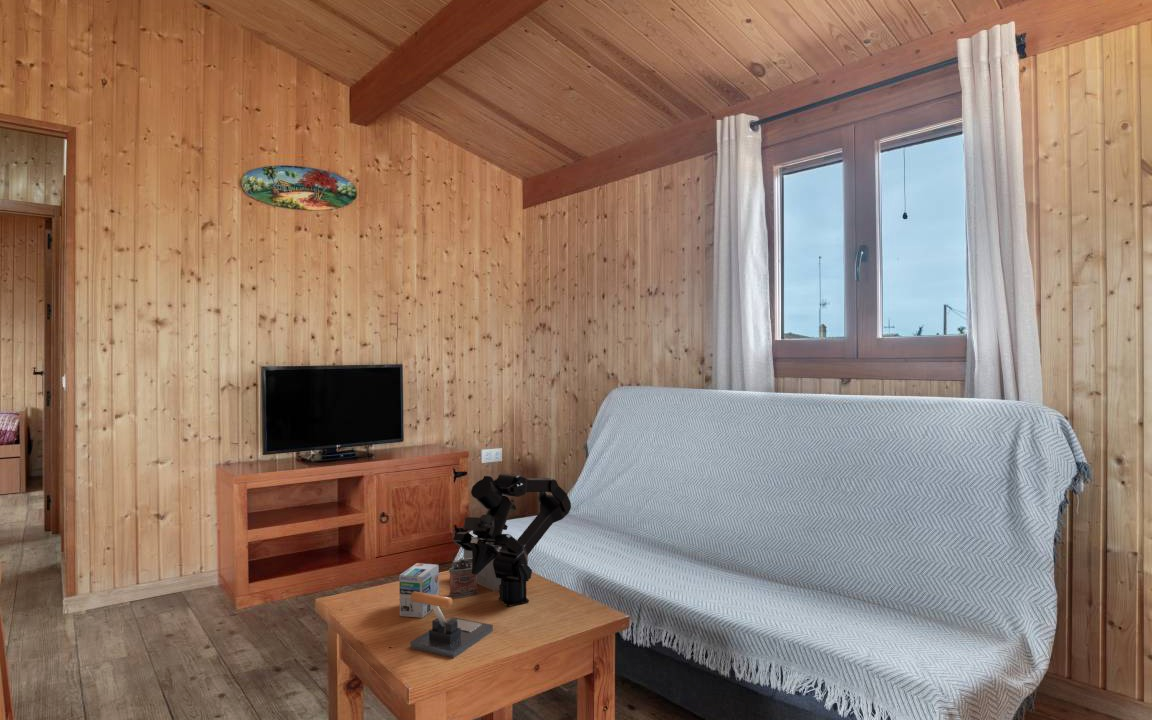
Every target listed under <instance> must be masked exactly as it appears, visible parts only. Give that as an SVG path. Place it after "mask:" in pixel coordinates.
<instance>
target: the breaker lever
mask: <svg viewBox="0 0 1152 720" xmlns="http://www.w3.org/2000/svg"><path fill="white" fill-rule="evenodd" d="M411 601H413V602H418V603H424V604H429V605H431V607H432V611H433V612H434V614H435V616H436V618H438V620H439V622H440V624H441V625H442V626H446V623H447V621H446V620H447V619H446V618H445V616H444V614H443V612H442V610H441V608H444V609H450V608H451V607H452V606H453V598H452V597H450V596H441V595H439V596H438V595H433V594H427V593H421V592H416V591H414V592H412V594H411ZM440 607H441V608H440Z"/></svg>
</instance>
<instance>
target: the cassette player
mask: <svg viewBox="0 0 1152 720" xmlns="http://www.w3.org/2000/svg"><path fill="white" fill-rule="evenodd" d="M467 558H472V551H467V550H464V549H463V559H467ZM493 560H494V559H493ZM493 560H492V561H491V562H490V563H488V564H487V565H486V566H485V567H484V568H483V569H482V570H481V571H480V572H479V573H478V574H477V585H480V586H481V587H482V586H483V587H484V588H486V589H489V590H492V591H493V592H494V591H499V585H500V584H501V578H496V575H495V571H494V567H493ZM470 564H471V565H472V563H470ZM467 565H468V564H466V566H467Z"/></svg>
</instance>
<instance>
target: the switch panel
mask: <svg viewBox="0 0 1152 720" xmlns="http://www.w3.org/2000/svg"><path fill="white" fill-rule="evenodd" d="M431 621H432V622H431V626H432V627H431V628H430V629H429V630H428V631H426V632H425V633H423V634H421V635H420V636H418V637H416V638H414V639H413V640H411V641H410V647H409V648H410V649H412V650H416V651H420V652H425V653H428V654H429V653H430V654H433V655H437V656H442V657H447V658H451V659H454V658H456V657H457V656H459V655H460V654H462V653H464V652H465V651H466V650H467V649H470V647H472V646H473V645H475V644H476V643H477V642H479V641H481V640H482V639H483V638H485V637H486V636H488V635H489V634H491V633H492V632H493V631H494V630H493V629H494V628H493V627H494V625H493V624H489V623H486V622H485V623H484V622H480V621H475V620H469V619H464V618H460V617H456V616H451V617H450V618H448V619H446V621H447V623H446V626H442V625H441V624H440V622H439V620H438V618H437V617H436V618H435V619H433V620H431Z"/></svg>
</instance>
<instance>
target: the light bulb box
mask: <svg viewBox="0 0 1152 720" xmlns="http://www.w3.org/2000/svg"><path fill="white" fill-rule="evenodd" d="M439 569H440V568H439V564H435V563H434V564H432V563H421V562H420V563H419V562H417V563H415V564H414V565H412V566H410V567H409V568H407V569H406V570H405V571H403V572H402V573H400V574H399V577H398V578H399V579H398V580H399V616H400V617H405V618H406V617H407V618H408V617H409V618H418V619H423V618H424V617H425V616H427V615H428V614H429V613H430V612H431V611H433V609H432V607H431V605H429V604H424V603H418V602H413V601H411V594H412V592H414V591H416V592H421V593H427V594H433V595H438V596H440V595H439V593H440V592H439V591H440V590H439V589H440V587H439V586H440V584H439V583H440V582H439V578H440V577H439Z"/></svg>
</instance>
